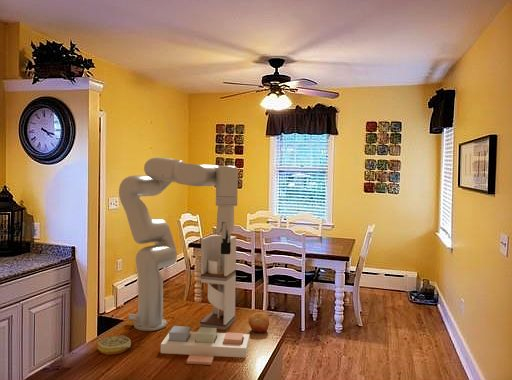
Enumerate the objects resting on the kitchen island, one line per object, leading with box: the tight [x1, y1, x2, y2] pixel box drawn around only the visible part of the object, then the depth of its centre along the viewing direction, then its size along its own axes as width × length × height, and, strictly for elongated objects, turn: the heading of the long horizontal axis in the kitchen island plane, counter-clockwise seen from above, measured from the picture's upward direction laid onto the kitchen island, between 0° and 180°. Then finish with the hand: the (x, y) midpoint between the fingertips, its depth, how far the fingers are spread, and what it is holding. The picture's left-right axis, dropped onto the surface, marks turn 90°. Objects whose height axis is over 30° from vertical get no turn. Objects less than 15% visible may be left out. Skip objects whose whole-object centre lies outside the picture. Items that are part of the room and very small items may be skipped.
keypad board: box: [160, 330, 251, 359], centre depth 149 cm, size 29×12×3 cm, turn 85°
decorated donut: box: [97, 335, 132, 356], centre depth 147 cm, size 10×11×4 cm
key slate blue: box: [168, 325, 191, 342], centre depth 150 cm, size 6×6×3 cm
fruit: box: [247, 311, 270, 333], centre depth 166 cm, size 8×8×8 cm
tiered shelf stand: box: [199, 234, 237, 331], centre depth 172 cm, size 11×11×35 cm
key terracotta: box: [224, 331, 244, 345], centre depth 148 cm, size 6×6×3 cm
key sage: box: [196, 327, 218, 343], centre depth 149 cm, size 6×6×3 cm
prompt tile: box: [186, 354, 215, 366], centre depth 139 cm, size 8×5×1 cm, turn 85°
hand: (225, 253), depth 149 cm, fingers closed
